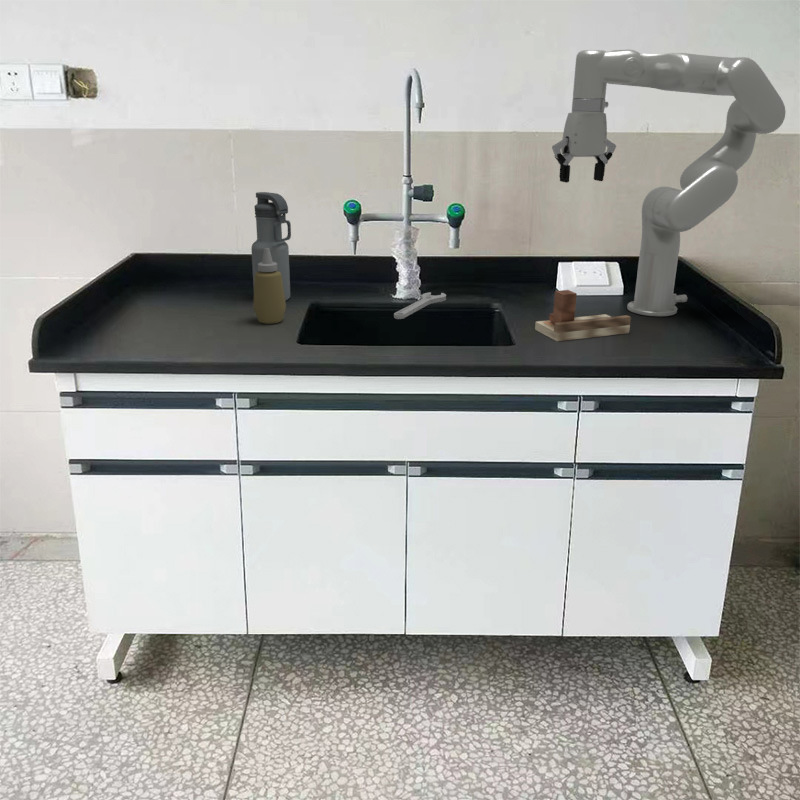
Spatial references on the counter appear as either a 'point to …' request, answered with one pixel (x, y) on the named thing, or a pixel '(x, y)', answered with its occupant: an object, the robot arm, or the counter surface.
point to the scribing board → (579, 334)
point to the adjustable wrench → (419, 304)
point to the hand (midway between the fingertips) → (581, 181)
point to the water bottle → (272, 235)
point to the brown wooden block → (563, 307)
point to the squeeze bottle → (268, 291)
